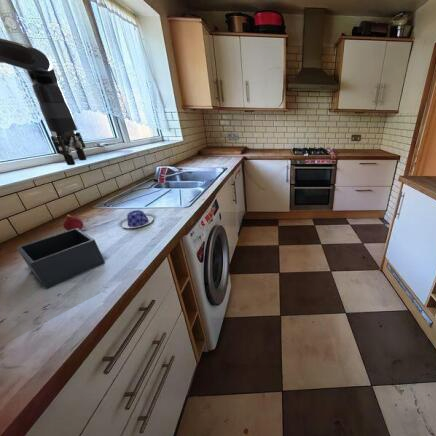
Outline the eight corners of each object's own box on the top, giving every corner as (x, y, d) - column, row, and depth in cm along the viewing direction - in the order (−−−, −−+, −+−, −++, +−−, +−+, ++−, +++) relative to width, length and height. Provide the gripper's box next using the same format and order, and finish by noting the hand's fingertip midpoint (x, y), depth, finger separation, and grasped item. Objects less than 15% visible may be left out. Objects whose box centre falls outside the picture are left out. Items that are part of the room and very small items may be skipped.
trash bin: (46, 289, 65) (29, 263, 61) (31, 271, 72) (16, 247, 68) (105, 262, 76) (94, 239, 72) (87, 249, 83) (77, 227, 79)
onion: (88, 228, 97) (80, 211, 94) (82, 234, 93) (74, 216, 89) (71, 230, 96) (63, 213, 92) (65, 236, 91) (55, 219, 87)
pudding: (127, 232, 94) (123, 221, 91) (118, 223, 101) (114, 213, 98) (158, 222, 102) (155, 211, 100) (147, 215, 109) (144, 205, 107)
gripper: (57, 116, 86) (75, 159, 93) (31, 117, 73) (54, 167, 81) (81, 116, 88) (97, 158, 95) (59, 117, 75) (79, 166, 83)
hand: (77, 162), depth 88 cm, fingers open, 8 cm apart
